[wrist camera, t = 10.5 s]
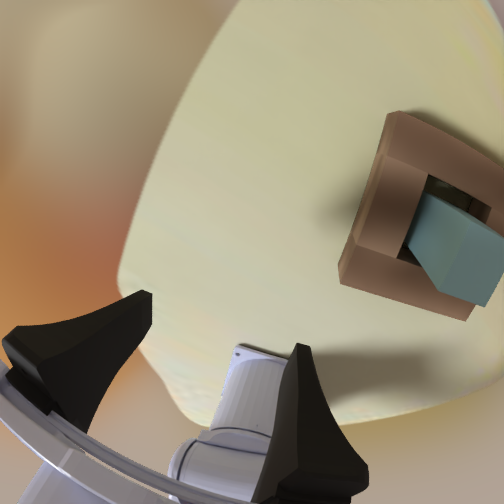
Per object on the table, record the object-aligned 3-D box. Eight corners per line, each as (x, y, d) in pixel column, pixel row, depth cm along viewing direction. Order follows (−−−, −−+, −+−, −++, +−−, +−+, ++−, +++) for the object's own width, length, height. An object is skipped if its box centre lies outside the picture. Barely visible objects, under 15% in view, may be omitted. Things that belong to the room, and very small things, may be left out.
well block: (453, 302, 20) (465, 321, 17) (337, 264, 21) (340, 283, 18) (506, 178, 15) (526, 186, 12) (387, 113, 16) (399, 110, 13)
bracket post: (440, 252, 19) (484, 307, 11) (401, 237, 19) (438, 291, 12) (459, 207, 17) (515, 246, 10) (419, 188, 17) (471, 220, 10)
